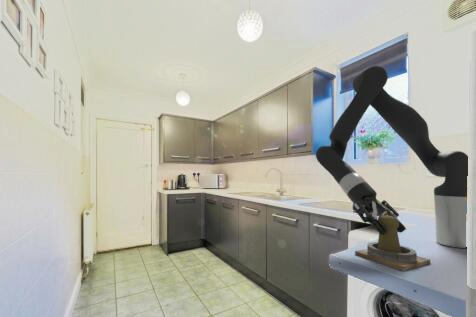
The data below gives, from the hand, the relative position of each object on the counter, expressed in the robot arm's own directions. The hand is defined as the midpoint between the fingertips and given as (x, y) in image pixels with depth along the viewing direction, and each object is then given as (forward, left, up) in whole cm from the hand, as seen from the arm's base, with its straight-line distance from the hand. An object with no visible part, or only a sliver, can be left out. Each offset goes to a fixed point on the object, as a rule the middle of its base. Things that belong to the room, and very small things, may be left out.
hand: (394, 232), depth 64 cm
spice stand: (0, -1, -8) cm, 8 cm away
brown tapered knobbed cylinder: (0, -1, -7) cm, 7 cm away
